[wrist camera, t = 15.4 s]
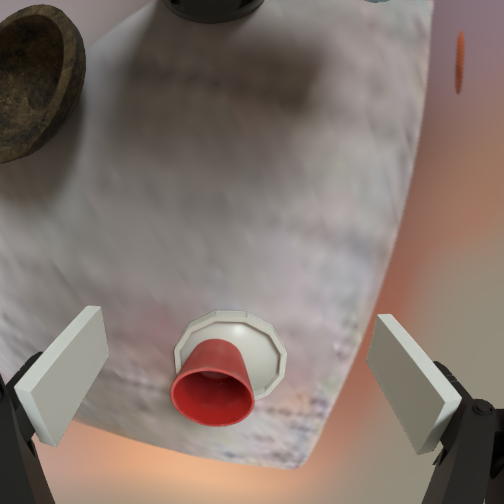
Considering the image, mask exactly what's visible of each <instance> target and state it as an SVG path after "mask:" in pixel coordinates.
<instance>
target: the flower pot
mask: <svg viewBox="0 0 504 504" xmlns="http://www.w3.org/2000/svg"><path fill="white" fill-rule="evenodd" d="M170 395H171V400H172V402H173V404H174V406H175V408H176V409H177V410H178V411H179V412H180V413H181V414H182V415H183V416H185V417H186V418H188V419H190V420H191V421H194V422H196V423H199V424H202V425H206V426H215V427H220V426H228V425H232V424H235V423H238V422H240V421H242V420H244V419H245V418H246V417H247V416H248V415H249V414H250V413H251V411H252V409H253V407H254V402H255V400H254V393H253V390H252V386H251V383H250V380H249V376H248V373H247V369H246V366H245V363H244V360H243V358H242V355H241V353H240V351H239V350H238V348H237V347H236V346H235V345H233V344H232V343H230V342H228V341H226V340H222V339H208V340H205V341H203V342H201V343H199V344H198V345H197V346H196V347H195V348H194V350H193V351H192V353H191V354H190V355H189V357H188V358H187V360H186V361H185V363H184V365H183V366H182V368H181V369H180V371H179V373H178V374H177V376H176V378H175V380H174V381H173V384H172V386H171V390H170Z"/></svg>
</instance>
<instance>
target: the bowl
mask: <svg viewBox="0 0 504 504" xmlns="http://www.w3.org/2000/svg"><path fill="white" fill-rule="evenodd" d="M85 71H86V55H85V48H84V44H83V39H82V37H81V35H80V32H79V30H78V29H77V27H76V26H75V25H74V24H73V23H72V21H71V20H70V19H69V18H68V17H67V16H66V15H65V14H64V13H63V11H62V10H60V9H58V8H56V7H54V6H50V5H44V4H42V5H33V6H29V7H26V8H24V9H21V10H19V11H17V12H15V13H14V14H12V15H10V16H9V17H7V18H6V19H5V20H3V21H2V22H1V23H0V164H1V163H6V162H10V161H13V160H16V159H19V158H22V157H25V156H28V155H30V154H32V153H33V152H35V151H37V150H38V149H40V148H41V147H42V146H43V145H45V144H46V143H47V142H48V141H49V140H50V139H51V138H52V137H53V136H55V135H56V134H57V132H58V131H59V130H60V129H61V128H62V126H63V125H64V124H65V123H66V121H67V119H68V118H69V116H70V115H71V113H72V112H73V110H74V107H75V105H76V103H77V101H78V99H79V96H80V93H81V90H82V87H83V84H84V77H85Z"/></svg>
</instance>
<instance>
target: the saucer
mask: <svg viewBox="0 0 504 504" xmlns="http://www.w3.org/2000/svg"><path fill="white" fill-rule="evenodd" d="M208 339H222V340H226V341H228V342H230V343H232V344H233V345H235V346H236V347H237V348H238V350H239V351H240V353H241V355H242V358H243V360H244V363H245V366H246V369H247V373H248V376H249V380H250V383H251V386H252V390H253V393H254V400H257V399H260V398H262V397H265V396H267V395H269V394H270V392H271V391H272V390H273V389H274V388H275V387H276V386H277V385H278V383H279V382H280V381H281V380H282V379H283V378H284V374H285V365H286V357H287V353H286V348H285V346H284V344H283V342H282V341H281V339H280V337H279V336H278V334H277V332H276V330H275V329H274V327H273V326H272V325H271V324H269V323H267V322H265V321H264V320H262V319H260V318H258V317H256V316H254V315H252V314H251V313H249V312H246V311H219V310H216V311H213V312H211V313H209V314H207V315H205V316H203V317H200V318H198V319H196V320H194V321H192V322H190V323H189V324H188V326H187V327H186V329H185V331H184V332H183V334H182V335H181V337H180V339H179V340H178V342H177V343H176V346H175V349H174V353H175V364H176V373H177V374H178V373H179V371H180V369H181V368H182V366H183V365H184V363H185V361H186V360H187V358H188V357H189V355H190V354H191V353H192V351H193V350H194V348H195V347H196V346H197V345H198V344H199V343H201V342H203V341H205V340H208Z"/></svg>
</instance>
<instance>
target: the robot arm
mask: <svg viewBox="0 0 504 504" xmlns="http://www.w3.org/2000/svg"><path fill="white" fill-rule="evenodd" d="M263 1H264V0H165V2H166V4H167V5H168V7H169V8H170V9H171V10H172V11H173V12H174V13H176V14H177V15H179V16H180V17H182V18H185V19H187V20H190V21H194V22H199V23H221V22H227V21H231V20H235V19H238V18H240V17H242V16H245V15H247V14H248V13H250V12H252V11H253V10H254V9H256V8H257V7H258V6H259V5H260V4H261V3H262V2H263ZM365 1H368V2H373V3H378V2H386V1H389V0H365ZM109 355H110V354H109V349H108V344H107V339H106V333H105V328H104V322H103V316H102V310H101V307H99V306H89V305H87V306H86V307H85V308H84V309H83V311H82V312H81V313H80V314H79V315H78V316H77V317H76V318H75V319H74V320H73V321H72V322H71V323H70V324H69V325H68V326H67V327H66V329H65V330H64V331H63V332H62V333H61V334H60V335H59V336H58V337H57V338H56V339H55V340H54V342H53V343H52V344H51V345H50V346H49V347H48V348H47V349H46V350H45V352H38V353H37V354H35V355H33V356H32V357H30V358H29V359H28V361H27V362H26V363H25V365H23V366H22V367H21V368H20V371H18V372H17V373H16V374H15V375H14V376H13V377H12V379H11V380H10V381H9V382H8V383H7V384H6V386H5V384H4V382H3V379H2V377H1V374H0V504H55V501H54V499H53V497H52V494H51V492H50V489H49V487H48V484H47V481H46V478H45V476H44V473H43V470H42V467H41V464H40V461H39V458H38V455H37V452H36V449H35V445H34V443H33V441H32V439H31V438H32V436H33V434H34V433H35V432H36V435H37V436H38V438H39V440H40V442H42V443H45V444H48V445H51V446H54V447H57V446H58V444H59V442H60V440H61V438H62V436H63V435H64V433H65V431H66V429H67V427H68V425H69V424H70V422H71V420H72V418H73V416H74V415H75V413H76V411H77V409H78V408H79V406H80V404H81V402H82V401H83V399H84V397H85V395H86V394H87V392H88V390H89V389H90V387H91V385H92V383H93V382H94V380H95V378H96V377H97V375H98V373H99V372H100V370H101V368H102V367H103V365H104V363H105V362H106V360H107V358H108V357H109ZM366 362H367V364H368V366H369V368H370V369H371V371H372V373H373V375H374V376H375V378H376V380H377V382H378V384H379V385H380V387H381V389H382V391H383V392H384V394H385V396H386V398H387V400H388V401H389V403H390V405H391V407H392V409H393V411H394V412H395V414H396V416H397V418H398V420H399V421H400V423H401V425H402V427H403V429H404V431H405V432H406V435H407V437H408V438H409V440H410V442H411V444H412V446H413V448H414V450H415V452H416V454H417V455H420V454H424V453H428V452H431V451H434V449H435V448H436V446H437V444H438V442H439V441H441V443H442V445H443V446H444V447H443V449H442V450H441V452H440V454H439V455H438V457H437V458H436V460H435V461H434V463H433V465H435V464H436V463H437V464H436V467H435V470H434V472H433V475H432V478H431V481H430V483H429V486H428V489H427V491H426V494H425V496H424V499H423V501H422V504H483V503H484V498H485V504H504V409H495V408H494V407H493V405H492V404H490V403H489V402H488V401H485V400H483V399H473V398H472V397H471V396H470V395H469V393H468V392H467V391H466V390H465V389H464V387H463V386H462V385H461V384H460V383H459V382H458V381H457V379H456V378H455V377H454V376H452V373H451V372H450V371H449V370H448V369H447V368H446V367H445V366H444V365H442V364H441V363H439V362H437V361H434V362H432V361H431V360H430V359H429V357H428V356H427V355H426V354H425V353H424V351H423V350H422V349H421V348H420V347H419V346H418V344H417V343H416V342H415V341H414V340H413V339H412V337H411V336H410V335H409V334H408V333H407V332H406V331H405V330H404V328H403V327H402V326H401V325H400V324H399V323H398V322H397V320H396V319H395V318H394V317H393V316H392V315H391V314H381V315H377V317H376V322H375V327H374V332H373V336H372V340H371V344H370V348H369V352H368V356H367V360H366Z"/></svg>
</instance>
